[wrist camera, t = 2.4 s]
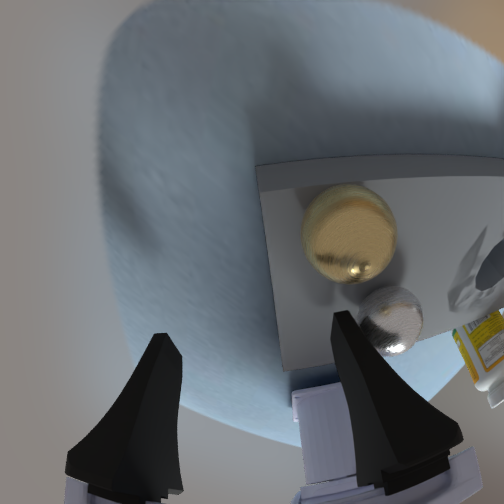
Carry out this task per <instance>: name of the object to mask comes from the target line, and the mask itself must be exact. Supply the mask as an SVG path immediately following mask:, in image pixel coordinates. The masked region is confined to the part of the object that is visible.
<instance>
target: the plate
mask: <svg viewBox="0 0 504 504" xmlns="http://www.w3.org/2000/svg"><path fill="white" fill-rule="evenodd" d="M255 169H256V176H257V183H258V189H259V196H260V203H261V210H262V217H263V223H264V230H265V238H266V245H267V252H268V259H269V266H270V274H271V281H272V289H273V296H274V304H275V311H276V319H277V327H278V335H279V343H280V350H281V358H282V366H283V372H284V371H291V370H298V369H304V368H310V367H316V366H321V365H327V364H332V363H335V361H334V357H333V352H332V346H331V341H330V336H331V329H332V321H333V313H334V312H339V311H344V310H348V311H350V313H351V315H352V316H353V318H354V319H355V321H356V317H357V313H358V310H359V307H360V305H361V304H362V302H363V301H364V299H365V298H366V297H367V296H368V295H369V294H370V293H372V292H373V291H375V290H377V289H379V288H381V287H385V286H399V287H403V288H405V289H407V290H409V291H410V292H411V293H413V294H414V295H415V296H416V298H417V299H418V300H419V302H420V304H421V306H422V310H423V315H424V323H423V329H422V332H421V334H420V336H419V338H418V340H417V341H416V342H418V341H421V340H424V339H427V338H430V337H433V336H436V335H439V334H441V333H444V332H447V331H450V330H452V329H455V328H457V327H460V326H463V325H465V324H467V323H470V322H472V321H475V320H477V319H479V318H482V317H484V316H486V315H489V314H491V313H493V312H495V311H497V310H499V309H501V308H503V307H504V159H501V158H491V157H478V156H463V155H436V154H393V155H365V156H348V157H334V158H322V159H311V160H301V161H292V162H283V163H275V164H268V165H261V166H255ZM343 184H354V185H359V186H363V187H366V188H368V189H370V190H372V191H374V192H375V193H377V194H378V195H379V196H380V197H381V198H383V199H384V200H385V202H386V203H387V204H388V206H389V207H390V209H391V211H392V212H393V215H394V217H395V220H396V224H397V233H398V239H397V245H396V249H395V252H394V255H393V257H392V259H391V261H390V263H389V264H388V265H387V267H386V268H385V269H384V270H383V271H382V272H381V273H380V274H378V275H377V276H376V277H374V278H372V279H371V280H368V281H366V282H363V283H359V284H340V283H336V282H333V281H331V280H328V279H327V278H325V277H323V276H322V275H320V274H319V273H318V272H317V271H316V270H315V269H314V268H313V267H312V266H311V264H310V263H309V261H308V260H307V258H306V256H305V254H304V252H303V248H302V244H301V238H300V232H301V223H302V219H303V216H304V213H305V211H306V209H307V208H308V206H309V205H310V203H311V202H312V201H313V200H314V198H316V197H317V196H318V195H319V194H320V193H322V192H323V191H325V190H326V189H329V188H331V187H334V186H337V185H343Z"/></svg>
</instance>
